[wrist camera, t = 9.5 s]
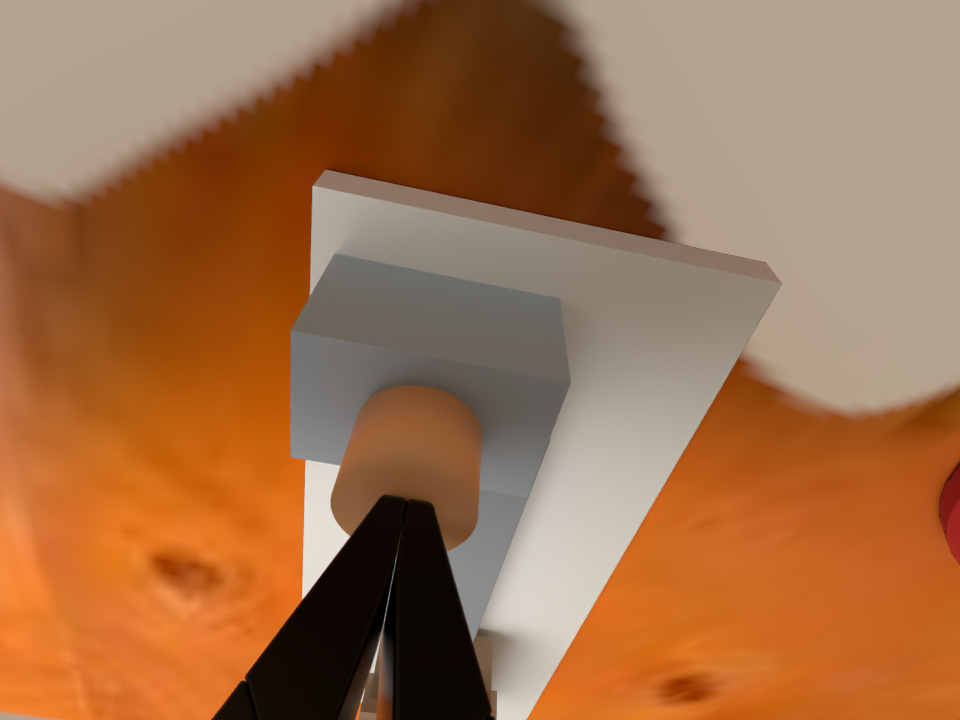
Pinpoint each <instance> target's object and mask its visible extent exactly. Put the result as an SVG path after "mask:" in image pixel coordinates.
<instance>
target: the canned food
mask: <svg viewBox="0 0 960 720" xmlns="http://www.w3.org/2000/svg"><path fill="white" fill-rule="evenodd" d="M939 517H940V520H941V523H942V527H943V530H944V533H945V536H946V540H947V542H948V545H949V548H950V551H951V553H952V555H953V556H954V558H955V559H956V560H957V562H958V563H959V565H960V465H959V467H958V468H957V469H956V471H955V472H954V474H953V475H952V476H951V478H950V479H949V481H948V482H947V484H946V485H945V488H944V491H943V494H942V496H941V499H940V506H939Z"/></svg>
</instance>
